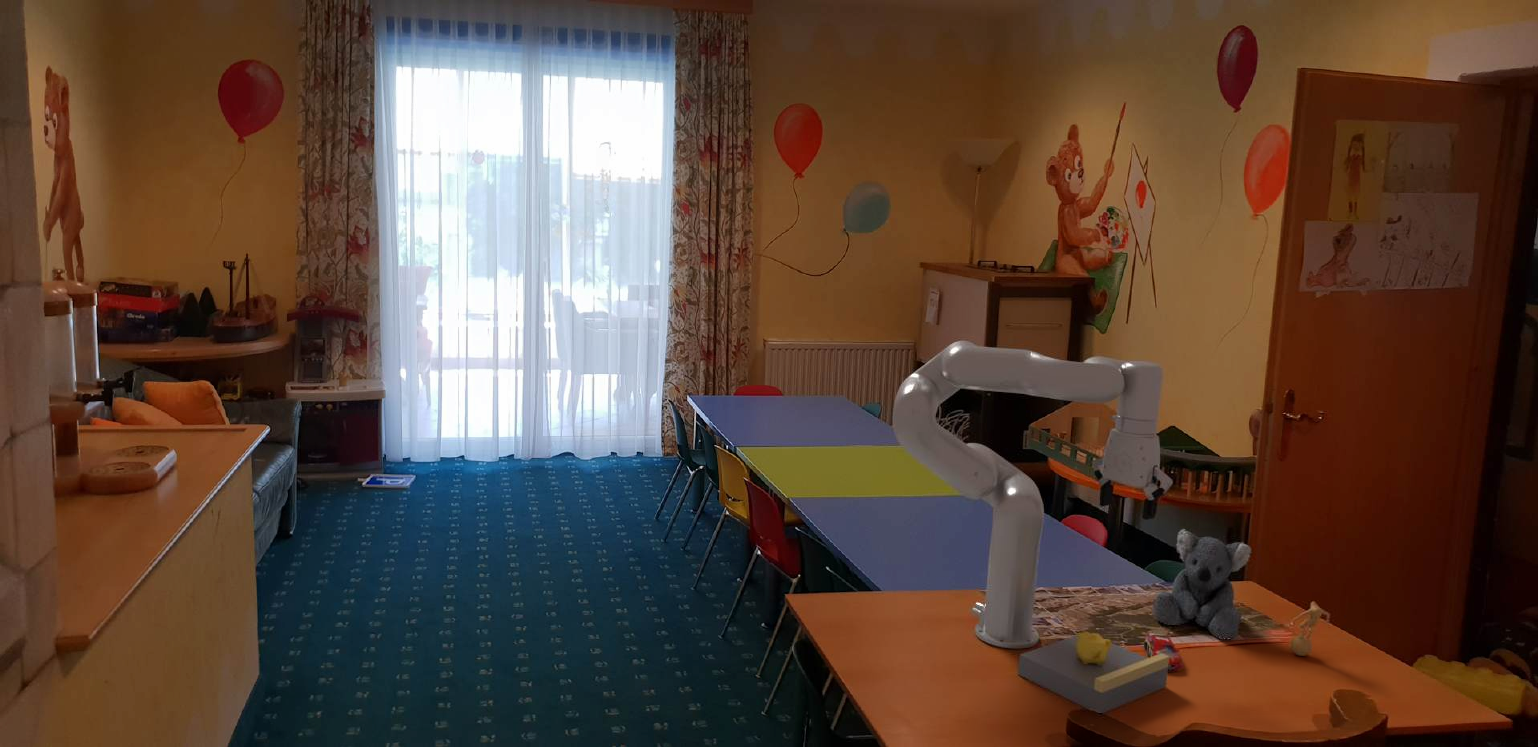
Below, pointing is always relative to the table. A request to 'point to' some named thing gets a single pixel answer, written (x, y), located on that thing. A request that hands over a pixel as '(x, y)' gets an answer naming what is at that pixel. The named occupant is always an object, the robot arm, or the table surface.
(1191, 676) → the table surface
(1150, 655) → the race car
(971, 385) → the robot arm
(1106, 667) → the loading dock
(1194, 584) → the koala plush
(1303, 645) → the figurine
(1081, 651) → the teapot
